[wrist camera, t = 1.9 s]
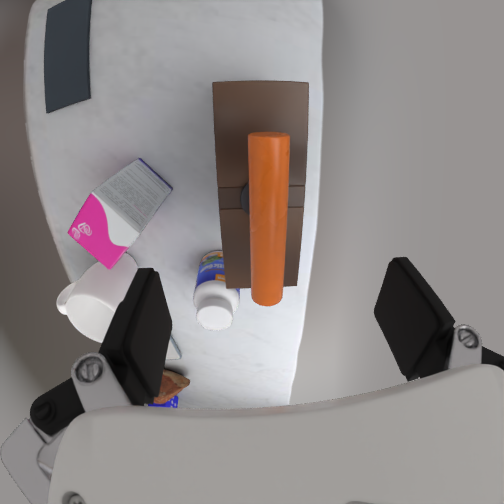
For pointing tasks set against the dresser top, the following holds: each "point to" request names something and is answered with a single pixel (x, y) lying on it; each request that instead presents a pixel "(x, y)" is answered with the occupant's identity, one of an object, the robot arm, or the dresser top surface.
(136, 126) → the dresser top surface
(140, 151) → the dresser top surface
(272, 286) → the T-handle
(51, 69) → the mat
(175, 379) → the reddish-brown rock
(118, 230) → the supplement box
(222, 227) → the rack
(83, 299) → the mug
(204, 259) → the pill bottle
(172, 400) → the die
